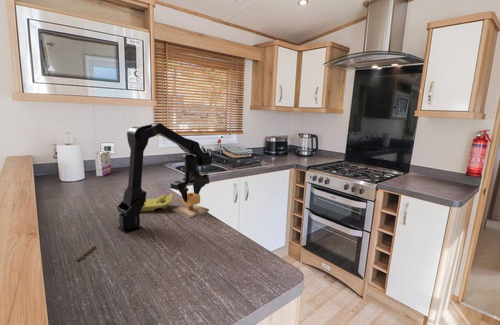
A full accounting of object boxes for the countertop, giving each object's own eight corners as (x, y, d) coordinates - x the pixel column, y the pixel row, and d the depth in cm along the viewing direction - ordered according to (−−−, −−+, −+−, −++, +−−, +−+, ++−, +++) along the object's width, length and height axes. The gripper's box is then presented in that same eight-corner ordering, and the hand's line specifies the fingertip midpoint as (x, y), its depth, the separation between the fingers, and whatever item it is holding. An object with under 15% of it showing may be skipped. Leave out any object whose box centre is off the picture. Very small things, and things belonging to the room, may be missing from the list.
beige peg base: (189, 217, 118) (189, 207, 117) (172, 211, 125) (172, 201, 124) (208, 211, 127) (209, 201, 127) (192, 205, 135) (192, 195, 134)
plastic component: (126, 208, 120) (130, 193, 128) (130, 219, 125) (134, 204, 133) (171, 204, 123) (173, 190, 131) (173, 215, 127) (175, 201, 135)
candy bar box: (104, 173, 195) (103, 150, 192) (111, 173, 195) (110, 151, 192) (95, 176, 184) (94, 153, 181) (102, 176, 184) (101, 153, 181)
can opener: (93, 248, 89) (93, 245, 89) (99, 249, 89) (99, 246, 89) (71, 263, 80) (71, 259, 80) (78, 264, 80) (78, 260, 80)
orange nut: (190, 206, 122) (190, 197, 121) (181, 203, 125) (181, 194, 124) (200, 203, 126) (200, 195, 125) (191, 200, 130) (191, 192, 129)
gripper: (186, 173, 111) (185, 209, 113) (217, 168, 125) (217, 200, 128) (169, 169, 117) (170, 203, 120) (201, 164, 132) (201, 195, 135)
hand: (190, 200), depth 125 cm, fingers closed on orange nut, 6 cm apart
